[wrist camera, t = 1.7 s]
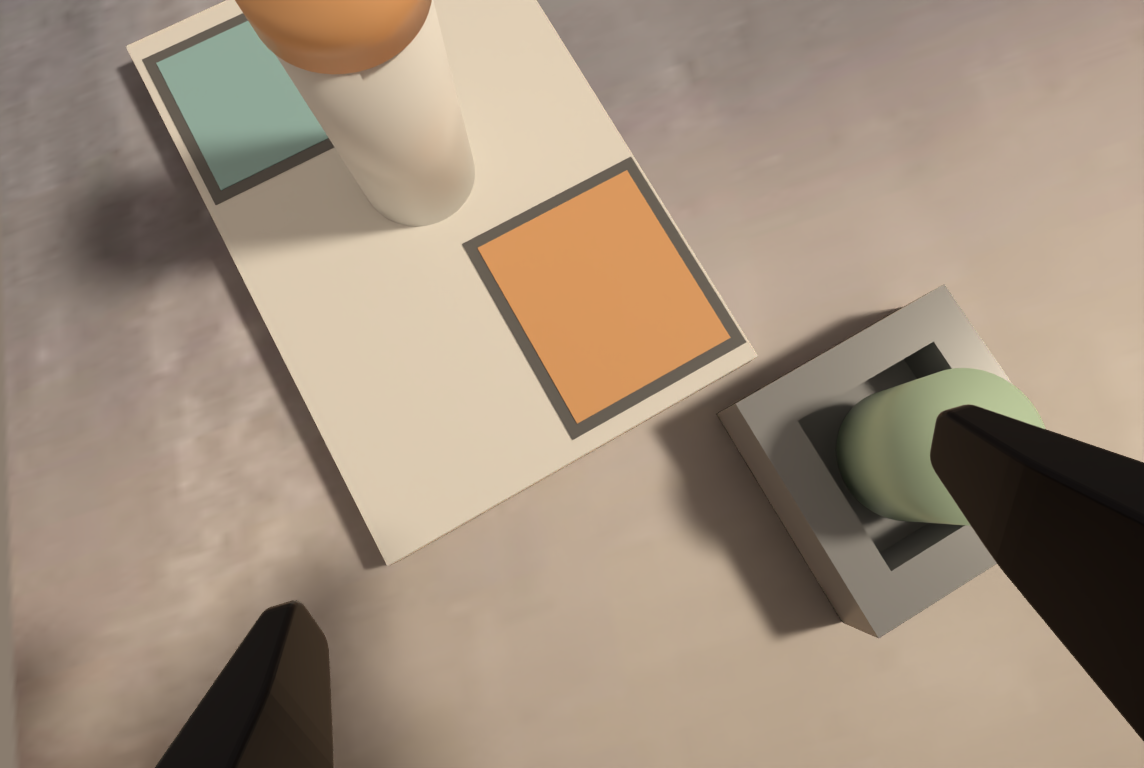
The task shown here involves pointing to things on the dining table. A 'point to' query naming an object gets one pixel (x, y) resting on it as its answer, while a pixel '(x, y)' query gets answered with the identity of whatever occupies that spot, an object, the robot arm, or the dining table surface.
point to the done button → (915, 441)
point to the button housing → (814, 483)
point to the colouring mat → (449, 269)
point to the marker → (378, 97)
